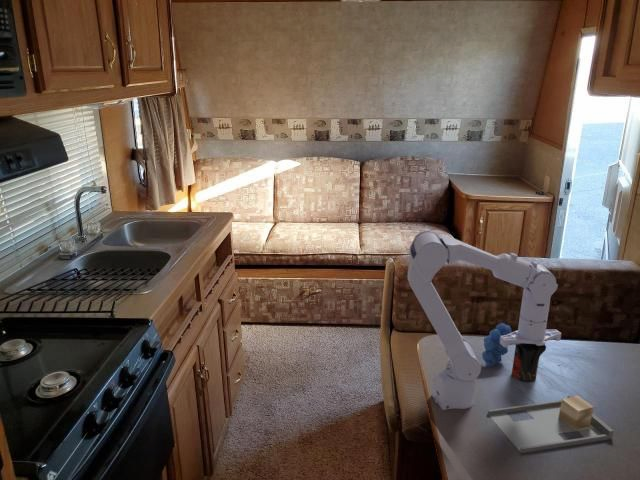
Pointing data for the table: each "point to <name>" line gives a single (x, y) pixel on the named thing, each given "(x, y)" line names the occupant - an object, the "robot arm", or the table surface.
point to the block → (576, 412)
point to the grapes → (495, 345)
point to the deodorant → (520, 373)
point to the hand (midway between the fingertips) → (526, 369)
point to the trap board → (545, 427)
